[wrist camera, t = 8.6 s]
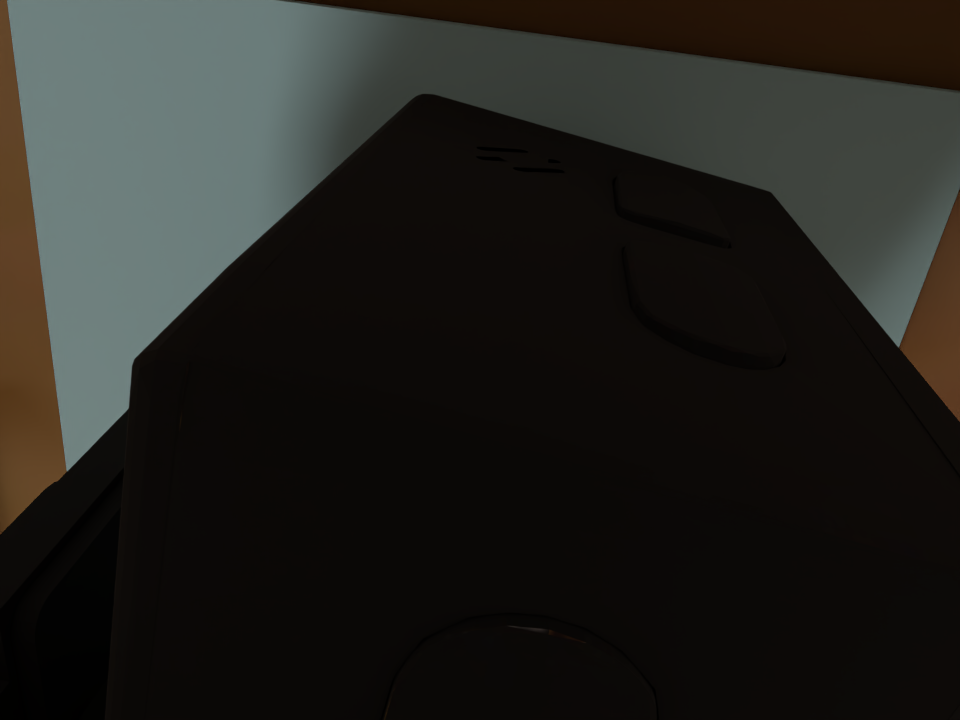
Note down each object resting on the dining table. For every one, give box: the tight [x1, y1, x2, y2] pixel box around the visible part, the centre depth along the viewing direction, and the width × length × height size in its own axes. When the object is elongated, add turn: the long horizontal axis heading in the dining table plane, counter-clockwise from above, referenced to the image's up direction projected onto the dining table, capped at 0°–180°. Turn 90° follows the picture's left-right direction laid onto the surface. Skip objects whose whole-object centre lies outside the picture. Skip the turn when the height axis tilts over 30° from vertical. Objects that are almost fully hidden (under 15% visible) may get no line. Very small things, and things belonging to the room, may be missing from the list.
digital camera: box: [80, 94, 960, 720], centre depth 9 cm, size 10×5×7 cm, turn 165°
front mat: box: [7, 0, 960, 471], centre depth 13 cm, size 11×13×1 cm
